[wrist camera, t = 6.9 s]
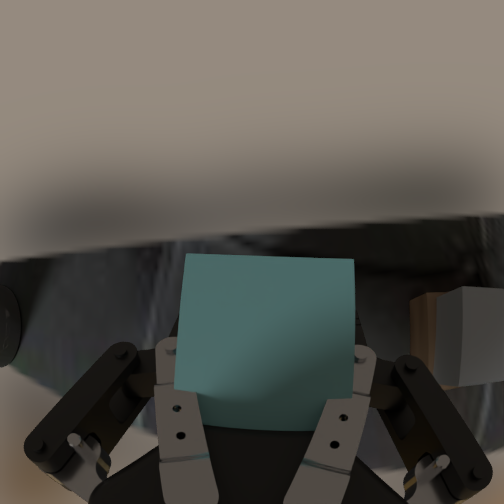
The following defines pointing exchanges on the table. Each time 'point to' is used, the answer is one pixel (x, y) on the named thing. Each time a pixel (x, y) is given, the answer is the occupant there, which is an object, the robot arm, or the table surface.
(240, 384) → the block
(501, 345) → the tower top
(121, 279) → the table surface
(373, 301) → the table surface
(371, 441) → the table surface
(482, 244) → the table surface
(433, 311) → the tower base
